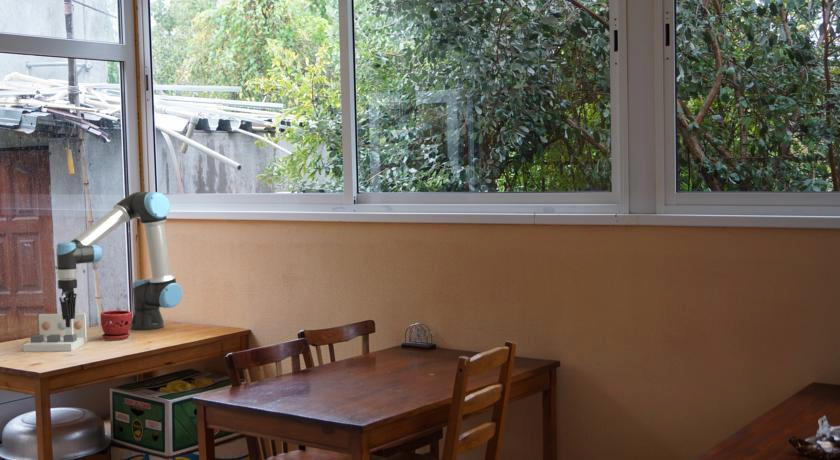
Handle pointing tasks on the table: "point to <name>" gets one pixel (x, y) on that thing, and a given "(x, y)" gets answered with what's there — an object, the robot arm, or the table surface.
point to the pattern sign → (62, 325)
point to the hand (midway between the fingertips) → (69, 334)
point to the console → (52, 345)
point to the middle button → (53, 338)
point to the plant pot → (116, 324)
